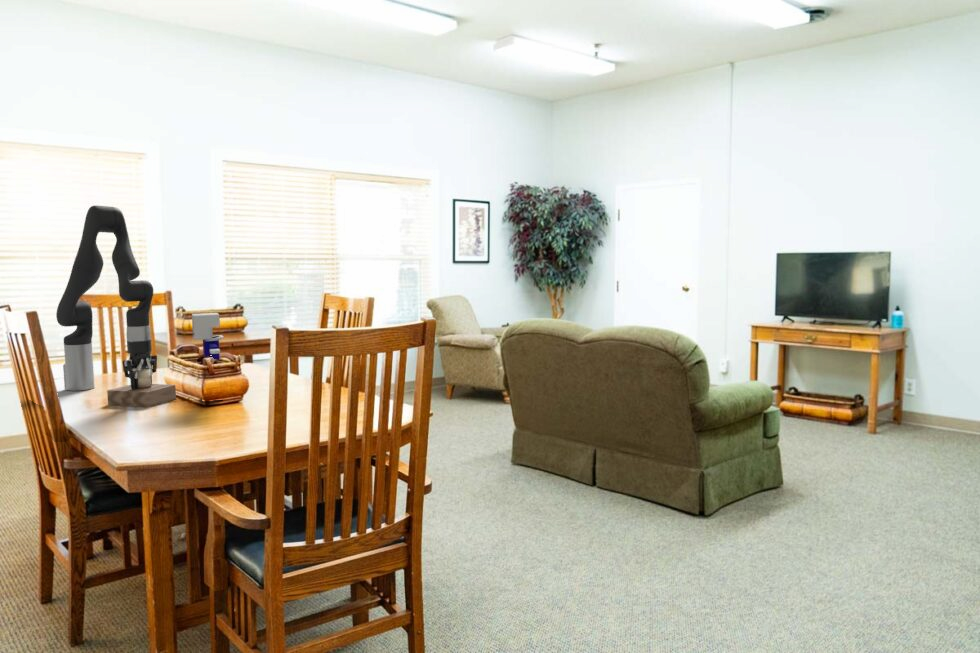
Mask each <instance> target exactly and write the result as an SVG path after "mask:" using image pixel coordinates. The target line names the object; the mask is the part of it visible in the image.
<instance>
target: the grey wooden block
mask: <svg viewBox="0 0 980 653" xmlns="http://www.w3.org/2000/svg"><path fill="white" fill-rule="evenodd" d="M106 392H107V393H106V394H107V405H109V406H123V407H124V406H125V407H135V408H136V407H139V408H140V407H141V408H142V407H143V408H149V407H153V406H156V405H160V404H163V403H167V402H171V401H173V399H174V400H177V395H176V394H177V393H176V384H165V383H163V384H162V383H161V384H160V383H152V385H151V387H149V388H145V389H136V390H135V389H132V388H131V384H127V385H124V386H119V387H114V388H111V389H107V390H106Z"/></svg>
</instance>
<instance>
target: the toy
mask: <svg viewBox="0 0 980 653" xmlns="http://www.w3.org/2000/svg"><path fill="white" fill-rule="evenodd" d="M191 322H192V323H191V324H192V338H193V340H194V341H202V350H203V351H202V354H204V356H203V358H204V357H206V356H209V357H213V358H214V359H220V357H221V356H220V354H221V349H220V340H221V339H223V338H224V337H225V336H223V334H220V335H219V334H216V335H214V334H213V333H214V330H213V329H214V328H216V327H217V328H220V327H221V320H220V314H219V313H218V312H206V313H205V312H204V313H200V312H199V313H192V314H191ZM210 355H212V356H210Z"/></svg>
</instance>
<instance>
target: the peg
mask: <svg viewBox="0 0 980 653" xmlns="http://www.w3.org/2000/svg"><path fill="white" fill-rule="evenodd" d="M134 374H135V372H133V375H134ZM137 378H138V389H145V388H149V387H151V373H150V369H141V370H140V372H138V377H137Z"/></svg>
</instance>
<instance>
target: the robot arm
mask: <svg viewBox="0 0 980 653" xmlns="http://www.w3.org/2000/svg"><path fill="white" fill-rule="evenodd" d="M124 216H125V215H124V214H123V211H122V210H121V209H120V208H118V207H115V206H107V205H91V206H90V207H89V209H88V210H87V213H86V216H85V219H84V225H83V229H82V236H81V239H80V243H79V246H78V250H77V253H76V256H75V258H74V261H73V264H72V267H71V271H70V275H69V279H68V282H67V284H66V287H65V290H64V292H63V294H62V296H61V298H60V301H59V303H58V305H57V308H56V313H55V314H56V321H57V323H58V324H59V325H60V326H61V327H76V329H75V330H74V331H73V332H72V333H70V334H68V335H66V336H64V337H63V350H64V364H63V365H62V367H63V368H62V369H63V381H64V383H63V384H64V390H67V391H72V392H74V391H88V390H91V389H92V390H93V389H94V388H95V373H94V370H95V369H94V359H93V358H94V356H93V355H94V354H93V310H92V306H91V305H90V303H89V302H88V301H85V300H80V299H81V297H83V295H84V294H86V292H87V291H89V290H90V289H91V288H92V287H93V286H94V285H95V284H97V282H98V280H99V279H100V277H101V273H102V271H103V267H104V259H103V258H104V257H103V255H102V254H101V252H100V250H99V247H98V245H97V238H98V235H99V233H107V234H109V233H110V234H111V233H112V234H114V236H115V239H116V242H115V244H114V247H113V250H112V254H111V261H112V265H113V267H114V269H115V272H116V274H117V275H116V276H117V280H118V295H119V297H120V299H121V300H123V301H124V302H126V303H127V302H131V303H133V302H138V304H137V306H135V307H133V308H130V309H127V310H126V313H125V315H126V347H127V354H129V358H128V359H123V360H122V368H123V372H124V377H125V378H129V379H130V385H131V388H132V389H135V390H136V389H138V378H137V377H138V372H140V370H141V369H150V373H151V385H152V384H153V376H152V375H153V374H154V373H156V372H157V362H158V356H157V355H152V354H150V353H151V352H152V350H153V349H152V348H153V347H152V333H151V327H150V312H151V311H150V310H151V305H152V300H153V298H154V286H153V285H152V283H151V282H150V281H149V280H145V279H143V280H136V279H137V278H138V277H139V276H140V274H141V271H140V268H139V265H138V263H137V261H136V257H135V255H134V254H133V250H132V246H131V243H130V237H129V232H128V227H127V223H126V219H125V217H124ZM133 372H135V374H134V375H133Z"/></svg>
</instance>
